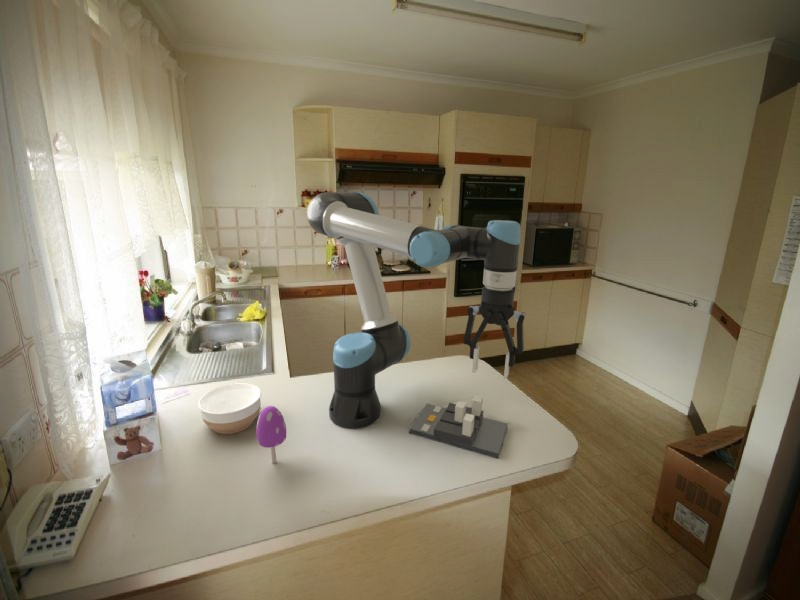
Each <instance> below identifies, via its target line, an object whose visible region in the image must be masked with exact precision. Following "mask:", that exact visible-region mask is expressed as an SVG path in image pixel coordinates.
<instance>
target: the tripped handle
mask: <svg viewBox="0 0 800 600" xmlns="http://www.w3.org/2000/svg"><path fill="white" fill-rule="evenodd" d="M455 404H456V406H455V418H454V421H457V422H461V423H462V422H463V419H464V417H465V412H466V407H467V402H466V401H465V402H464V401H462V400H461V401H460V400H457V402H456V403H455Z"/></svg>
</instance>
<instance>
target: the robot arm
mask: <svg viewBox="0 0 800 600" xmlns="http://www.w3.org/2000/svg"><path fill="white" fill-rule="evenodd" d="M306 208H307V209H306V217H307V218H306V220H307V221H308V223H309V226H310V227H311V228H312V229H313V230H314V231H315V232H316V233H318V234H320V235H323V236H326V237H330V238H333V239H334V238H335V239H337V242H338V243H339V244H340V245H342V246H343V247H344V249H345V253H346V254H345V255H346V257H347V260H348V261H347V262H348V264H349V268H350V273H351V276H352V279H353V283H354V288H355V292H356V295H357V298H358V299H357V300H358V304H359V306H360V310H361V314H362V318H363V324H362V326H361V327H360V330H361V332H360V331H359V332H358V331H357V332H354V333H348V334H347V333H346V334H345V335H343V336H341V337H339V338H338V339H337V340H336V341H335V343H334V344H333V345H334V346H333V354H332V360H333V361H332V362H333V381H334V383H333V384H334V386H333V387H334V392H333V395H332V397H331V400H330V404H329V407H328V414H329V419H330V421H331V422H332V423H333V424H335V426H338V427H341V428H346V429H361V428H365V427H367V426H370V425H372V424H375V423H376V422H377V421H378V420H379V419H380V417H381V415H382V405H381V402H380V399H379V395H378V394H377V390H376V375H377V374H379V373H381V372H383V371H385V370H386V369H388V368H390V367H392V366H393V365H396V364H398V363H400V362H401V361H402V360H403V359H405V358H406V357H407V355H408V354H409V353H410V349H411V344H412V343H411V337H410V333H409V332H408V330H407V329H406V328H405V327H404V326H403V325H402V324H400V323H399V320H398V318H397V317H395V316H394V315H393V314H392V312H391V308H390V304H389V301H388V296H387V293H386V288H385V285H384V281H383V277H382V273H381V269H380V265H379V262H378V258H377V253H376V249H375V248H379V249H382V250H385V251H389V252H392V253H396V254H399V255H400V256H401V255H402V256H404V257H407V258H408V257H409V258H411V259H412V260H413V261H414V263H415V264H416V265H417V266H419V267H421V268H435V267H438V266H440V265H444V264H446V263H449V262H454V261H458V260H461V259H473V260H480V261H482V260H483V263H484V267H483V278H482V284H483V285H484V286H482V288H481V300H480V304H479V305H476V306H475V305H473V304H471V305H470V306H469V307H468V308H467V314H468V317H467V318H468V319H467V322H466V328H465V331H464V337H463V340H462V341H463V342H462V343H463V344H464V345H467V346H469V359H471V360H473V361H472V371H471V372H472V373H474V374H475V373H477V372H478V371H477V370H478V368H479V358H480V357H479V354H480V345H478V343H479V341H480V338H481V336H482V335H483V333H484V331H485V329H486V328H487V325H488V324H489V325H496V326H500V328H501V331H502V332H503V336H504V340H505V344H506V346H507V352H506V355H505V363H504V372H503V379H504V380H507V379H508V377H509V373H510V367H513V366H515V365H514V364H515V362H516V361H515V359H516V355H522V354H523V352H524V348H525V346H524V345H525V344H524V343H525V341H524V339H525V338H524V337H525V336H524V320H525V318H526V315H527V314H526V313H525V312H520V311H516V310H515V308H514V301H515V300H514V299H515V290H516V289H514V288H515V287H516V282H517V281H516V280H517V273H518V260H519V252H520V245H521V229H522V228H521V224H520V223H519V222H518V221H516V220H515V221H514V220H507V219H506V220H503V219H502V220H500V219H497V220H496V219H494V220H489V221H488V223H487V226H486V227H475V226H474V227H473V226H466V225H465V226H464V225H460V224H455V225H449V224H448V225H445V226H444V227H443V228H442V229H434V228H431V227H427V226H422V225H418V224H415V223H411V222H407V221H403V220H399V219H396V218H395V219H394V218H391V217H387V216H382V215H379V211H378V207H377V205H376V203H375V201H374V200H373V198H372V197H371V196H370V195H368V194H366V193H364V192H357V191H345V192H344V191H341V192H340V191H336V192H331V191H330V192H329V191H328V192H321V193H318V194H317V195H315V196H314V197H312V199H311V200H310V201H309V203H308V204H307V207H306ZM478 313H480V315H481V316H482V318H483V319H482V322H481V323H480V325H479V327H478V329H477V331H476V333H475V335H474V336H473V338H472V333H473V329H474V324H475V320H476V316H477V314H478ZM512 317H514V321H515V322H516V345H517V346H516V345H515V341H514V338H513V335H512V332H511V327H510V323H509V320H510V319H511V318H512Z"/></svg>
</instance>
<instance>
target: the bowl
mask: <svg viewBox="0 0 800 600" xmlns="http://www.w3.org/2000/svg"><path fill="white" fill-rule="evenodd" d="M261 396H262V391H261V389H260V388H259V387H258V386H256V385H254V384H251V383H245V382H244V383H243V382H241V383H240V382H237V383H230V384H225V385H221V386H218V387H215V388H213V389H211V390H209V391H207V392H206V393H204V394H203V395H202V396H201V397H200V399H199V400H198V403H197V406H198V409H199V410H200V417H201V418H202V420H203V421H202V422H204V424H205V425H206V426H207V427H209V428H210V429H212V430H213V431H214V432H215V433H218V434H222V435H223V434H224V435H226V434H227V435H228V434H234V433H238V432H239V433H240V432H241V431H243V430H245V429H248V428H249V427H250V426H251V425H252V424H253V422H254V420H255V419H256V418H257V416H258V414H259V412H260V411H261V404H262V401H261Z"/></svg>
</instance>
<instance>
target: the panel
mask: <svg viewBox="0 0 800 600" xmlns="http://www.w3.org/2000/svg"><path fill="white" fill-rule="evenodd" d="M446 408H447V407H443V406H439V405H435V404H431V403H426V404H425V405H424V407H423V408H422V410H421V411H420V413H419V414H417V416H416V418H415V420H414V421H412V422H413V423H412V424H411V425H410V427H409V428H408V433H409V434H412V435H414V436H418V437H421V438H424V439H428V440H431V441H434V442H438V443H442V444H445V445H448V446H453V447H456V448H459V449H462V450H467V451H469V452H474V453H477V454H481V455H484V456H487V457H490V458H495V459H499V457H500V454H501V451H502V447H503V443H504V440H505V437H506V434H507V430H508V425H509V424H508V422H503V421H500V420H497V419H493V418H492V419H491V418H487V417H484V416H483V418H482V420H481V423H480V425H479V428H478V430H477V432H476V435H475V437H474V440H473V442H472V444H471V446H469V445H465V444H462V443H458V442H455V441H451V440H448V439H444V438H441V437H437V436H434V428H435V426H436V425H437V423H438V421H440V418H441V416H442V415H443V413H444V411H445V410H446Z"/></svg>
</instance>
